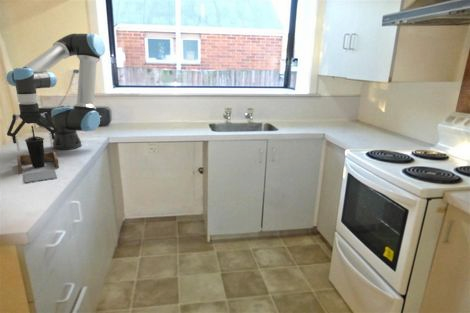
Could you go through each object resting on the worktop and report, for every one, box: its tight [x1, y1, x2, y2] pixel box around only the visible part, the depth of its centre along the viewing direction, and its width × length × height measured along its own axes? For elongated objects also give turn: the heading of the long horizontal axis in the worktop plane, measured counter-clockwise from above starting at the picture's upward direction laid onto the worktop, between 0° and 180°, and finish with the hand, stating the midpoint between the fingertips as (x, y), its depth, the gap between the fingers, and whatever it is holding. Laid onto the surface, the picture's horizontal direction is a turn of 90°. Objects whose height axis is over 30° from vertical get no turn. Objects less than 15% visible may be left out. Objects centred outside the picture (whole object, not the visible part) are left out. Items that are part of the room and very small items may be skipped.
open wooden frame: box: [16, 151, 60, 175], centre depth 156 cm, size 16×15×4 cm
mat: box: [23, 168, 58, 184], centre depth 144 cm, size 12×12×1 cm
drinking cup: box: [24, 125, 45, 169], centre depth 154 cm, size 8×8×20 cm
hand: (35, 148), depth 154 cm, fingers open, 13 cm apart
